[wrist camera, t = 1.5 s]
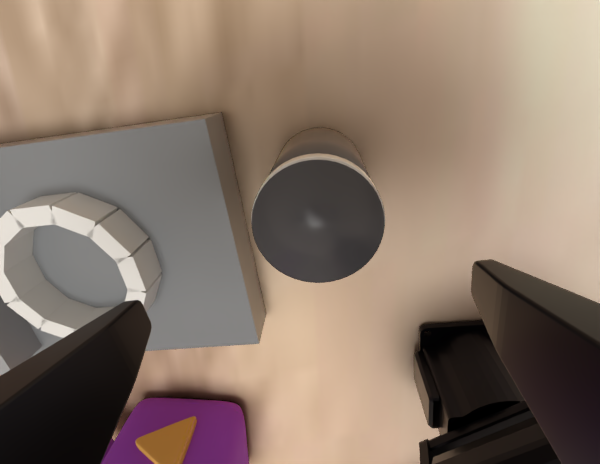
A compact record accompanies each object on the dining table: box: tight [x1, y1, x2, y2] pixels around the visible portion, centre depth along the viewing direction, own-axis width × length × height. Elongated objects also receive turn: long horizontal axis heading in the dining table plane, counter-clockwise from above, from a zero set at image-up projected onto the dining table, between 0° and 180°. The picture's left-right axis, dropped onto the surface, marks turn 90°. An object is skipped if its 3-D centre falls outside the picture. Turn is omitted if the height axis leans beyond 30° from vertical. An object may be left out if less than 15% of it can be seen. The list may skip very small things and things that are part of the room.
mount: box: [0, 112, 266, 375], centre depth 20 cm, size 18×14×5 cm
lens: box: [251, 128, 385, 283], centre depth 17 cm, size 5×5×8 cm
